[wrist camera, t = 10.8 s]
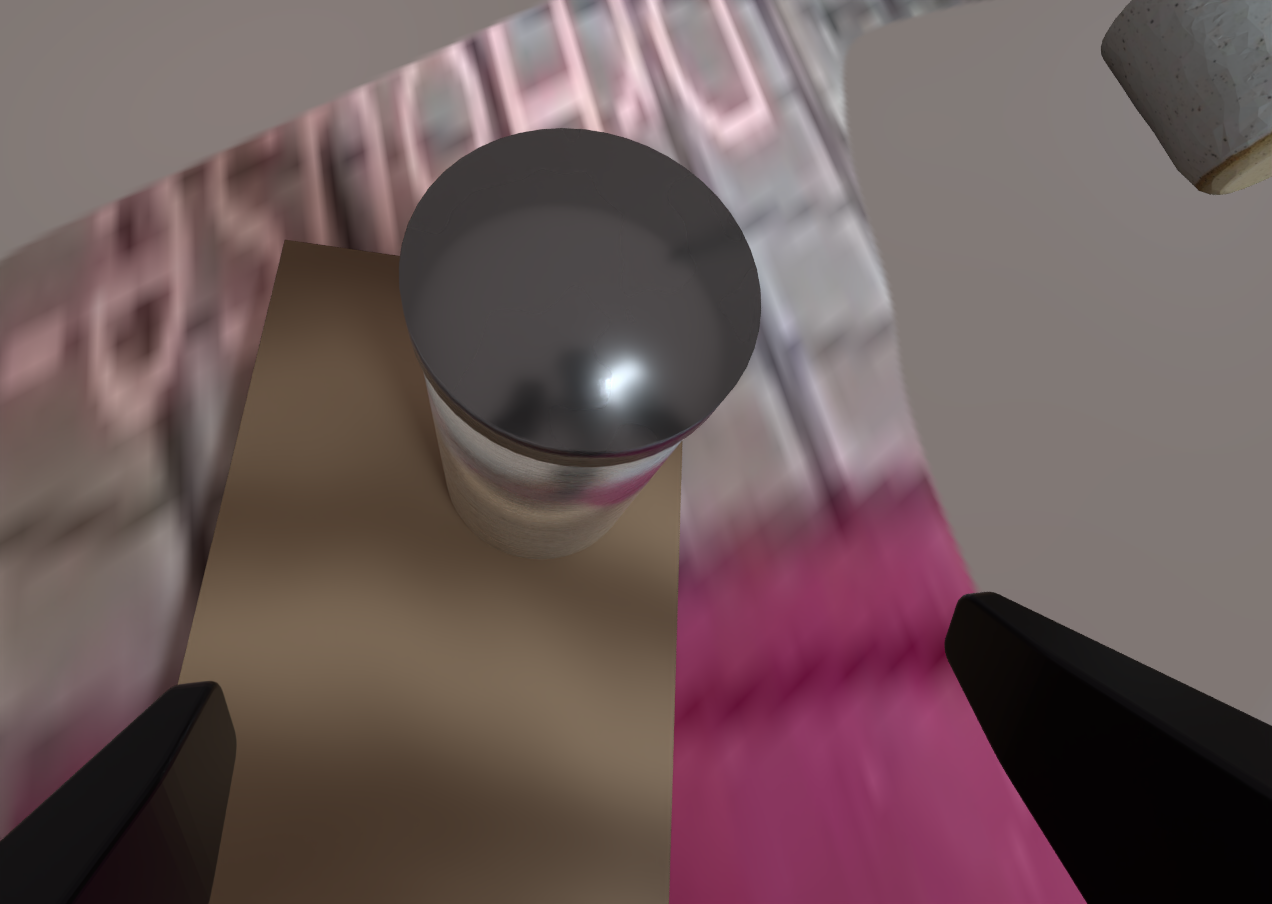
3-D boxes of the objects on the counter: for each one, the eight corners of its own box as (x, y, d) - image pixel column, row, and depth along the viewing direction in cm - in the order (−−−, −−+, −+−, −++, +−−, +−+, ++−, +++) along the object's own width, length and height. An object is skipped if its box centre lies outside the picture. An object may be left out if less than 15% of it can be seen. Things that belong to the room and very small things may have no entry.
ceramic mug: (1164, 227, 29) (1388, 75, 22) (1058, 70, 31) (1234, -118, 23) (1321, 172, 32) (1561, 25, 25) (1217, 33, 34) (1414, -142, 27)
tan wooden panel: (658, 950, 18) (667, 965, 17) (131, 954, 16) (108, 971, 15) (678, 312, 23) (686, 296, 23) (293, 259, 22) (284, 239, 21)
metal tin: (659, 532, 20) (811, 404, 11) (468, 587, 19) (449, 493, 9) (604, 361, 21) (696, 111, 12) (421, 399, 20) (362, 149, 10)
